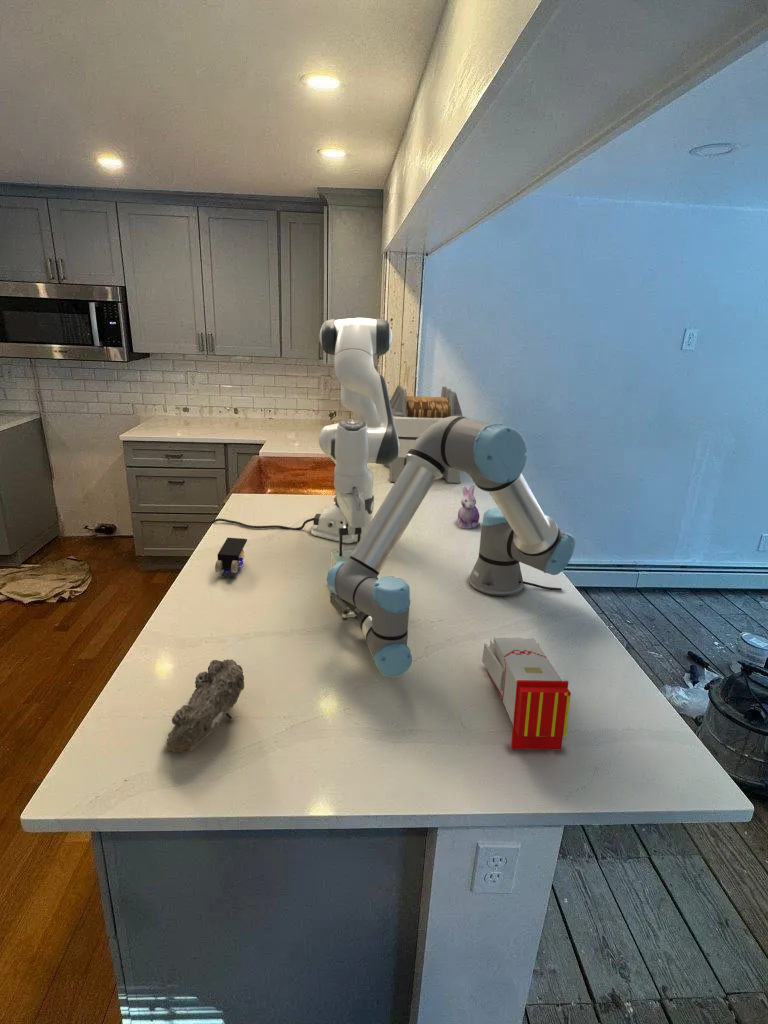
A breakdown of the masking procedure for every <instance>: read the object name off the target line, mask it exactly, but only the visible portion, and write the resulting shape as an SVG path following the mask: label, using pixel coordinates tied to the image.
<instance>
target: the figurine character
mask: <svg viewBox="0 0 768 1024" xmlns="http://www.w3.org/2000/svg"><path fill="white" fill-rule="evenodd" d="M247 542H248V538H240V537H226V539H225V541H224V543H223V544H222V546H221V547H220V549H219V551H218V552H217V560H216V562H215V564H214V572H215V573H221V577H222V578H224V577H225V576H226V574H227V573H230V574H231V573H232V574H231V578H234V577H235V575H236V573H237V572H239V571H240V567H242V566H243V565H244V564H245V562H244V558H245V551H244V547H245V546H246V544H247Z"/></svg>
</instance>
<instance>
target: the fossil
mask: <svg viewBox="0 0 768 1024" xmlns="http://www.w3.org/2000/svg"><path fill="white" fill-rule="evenodd" d="M243 670H244V669H243V667H242V665H240V664H237V662H236V661H235V660H234V659H232V658H231V659H227V658H226V659H224V660H223V661H222V660H217V659H212V660H211V661H210V663H209V665H208V666H207V671H201V672H199V673H198V674H197V675H196V676H195V680H194V684H195V685H194V687H195V689H194V690H193V693H192V694H191V697H190V698H189V700H188V704H184V705H182V706H181V707H180V709H177V710H176V711H175V713H174V715H173V716H172V718H171V723H172V724H173V727H172V730H171V731H170V732H168V734H167V738H166V741H167V742H166V745H167V749H168V750H169V751H173V752H174V753H176V754H178V753H182V752H188V751H189V752H192V751H193V750H195V748H196V747H197V746H199V744H200V743H201V742H203V741H204V740H205V739H206V738H207V737H208V736H209V735H210V734H211V733H212V732H214V730H215V729H217V727H218V726H219V724H220V722H221V721H222V720H223V719H224V718H225V716H226V717H227V719H229V720H233V717H232V715H230V714H229V710H230V709H231V708H234V706H235V704H236V703H237V702H238V699H239V697H240V695H241V693H242V691H243V690H245V689H244V688H245V675H244V671H243Z"/></svg>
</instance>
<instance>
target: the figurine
mask: <svg viewBox="0 0 768 1024" xmlns="http://www.w3.org/2000/svg"><path fill="white" fill-rule="evenodd" d="M474 492H475V485H474V484H472V485H471V486H470V487H469V489H468V488H467V487H466V485H463V486H462V497H461V500H460V503H461V508H459V509H458V510H457V511H458V512H457V520H456V524H457V526H459V528H460V529H467V530H468V529H473V528H476V527H477V526H478V525H479V522H480V512H479V509H478V507H477V506H476V505H477V500H476V497H475V495H474Z"/></svg>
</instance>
